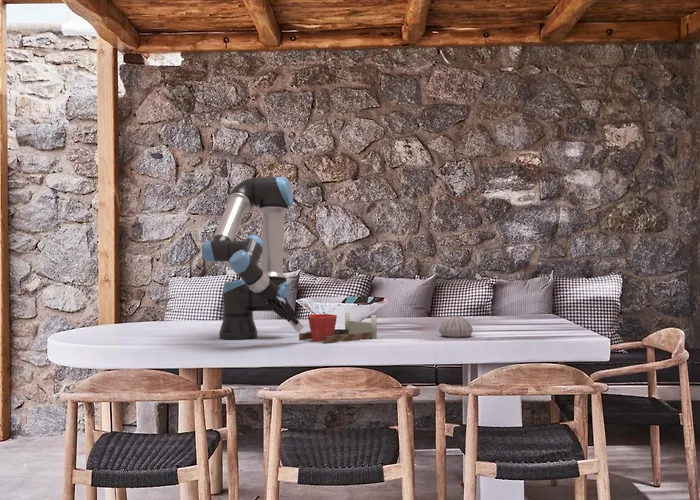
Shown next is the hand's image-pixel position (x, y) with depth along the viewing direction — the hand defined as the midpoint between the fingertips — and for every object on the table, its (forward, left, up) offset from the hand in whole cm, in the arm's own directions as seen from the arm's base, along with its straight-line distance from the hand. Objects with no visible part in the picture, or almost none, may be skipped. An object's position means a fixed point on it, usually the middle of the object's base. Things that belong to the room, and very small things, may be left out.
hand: (300, 329), depth 296 cm
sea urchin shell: (-2, +62, -5) cm, 63 cm away
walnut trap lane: (-9, +15, -5) cm, 18 cm away
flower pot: (-5, +9, -5) cm, 12 cm away
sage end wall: (-12, +26, -5) cm, 30 cm away
